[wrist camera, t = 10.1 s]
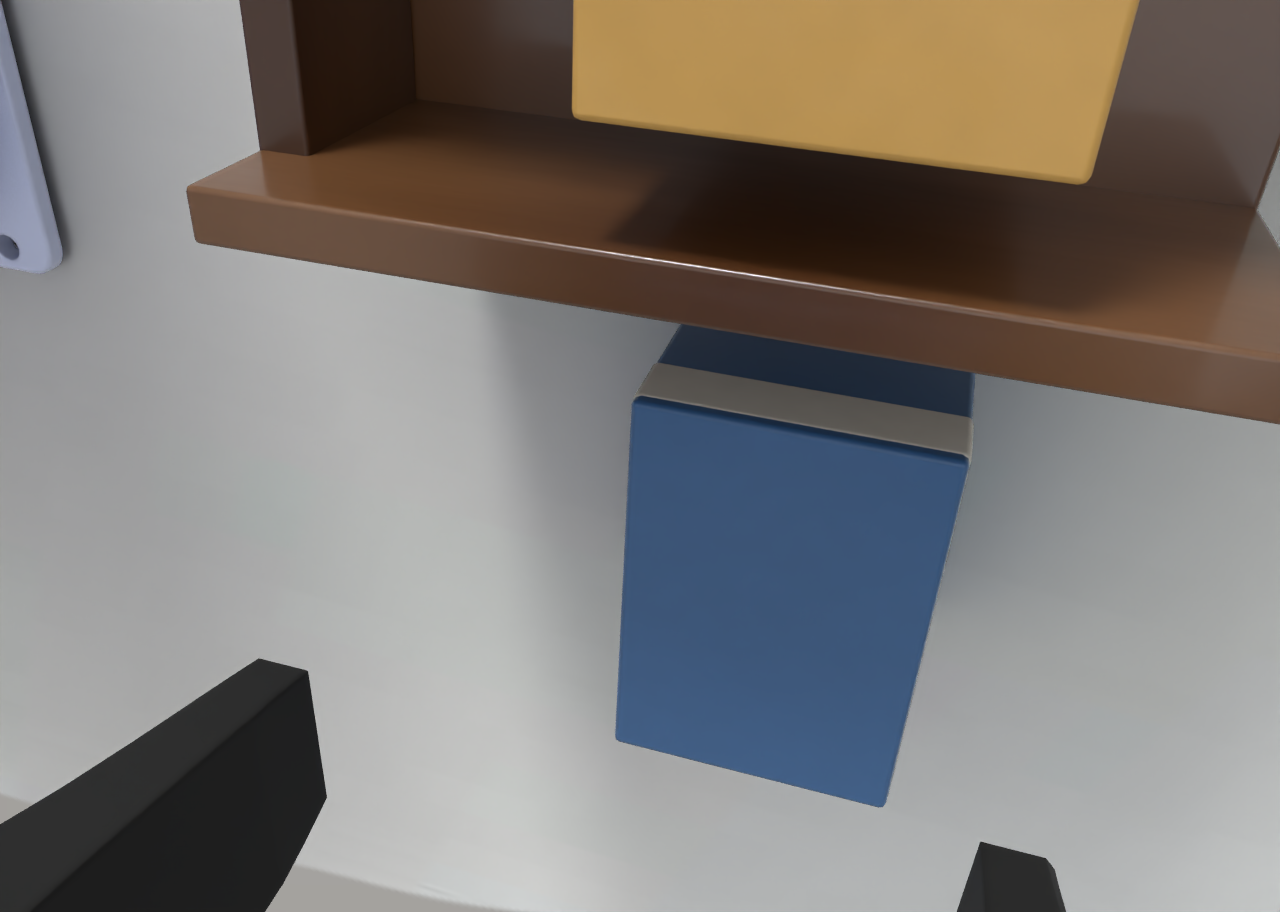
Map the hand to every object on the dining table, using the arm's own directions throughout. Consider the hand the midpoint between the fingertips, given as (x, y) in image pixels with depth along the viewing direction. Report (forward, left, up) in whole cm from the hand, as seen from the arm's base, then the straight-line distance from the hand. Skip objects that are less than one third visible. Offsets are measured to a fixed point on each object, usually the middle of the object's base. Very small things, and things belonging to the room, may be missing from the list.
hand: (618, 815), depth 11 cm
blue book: (+1, -1, -10) cm, 10 cm away
